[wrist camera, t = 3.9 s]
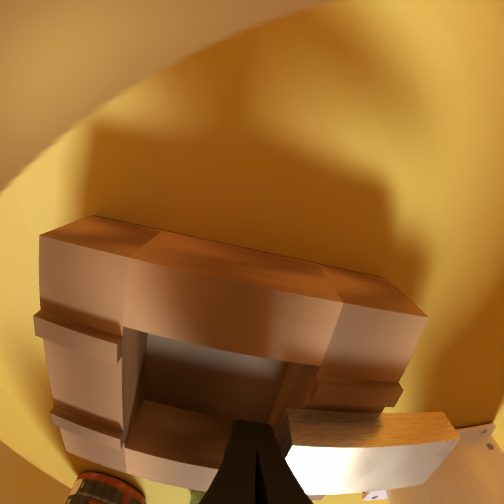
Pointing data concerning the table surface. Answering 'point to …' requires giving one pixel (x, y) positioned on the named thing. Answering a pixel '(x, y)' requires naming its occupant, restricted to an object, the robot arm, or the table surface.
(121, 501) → the supplement bottle
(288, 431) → the tan rectangular block
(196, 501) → the peg
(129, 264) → the dock
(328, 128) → the table surface
